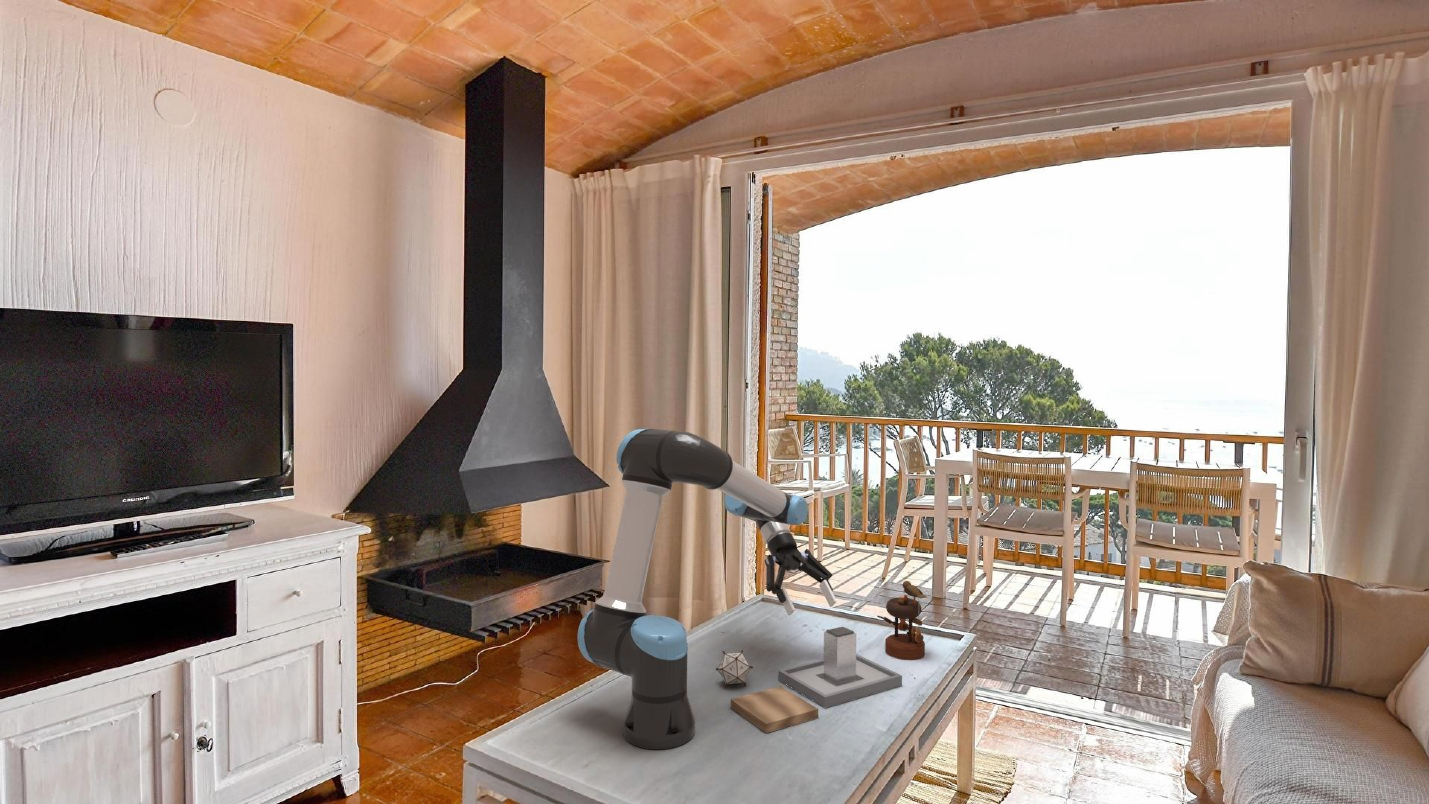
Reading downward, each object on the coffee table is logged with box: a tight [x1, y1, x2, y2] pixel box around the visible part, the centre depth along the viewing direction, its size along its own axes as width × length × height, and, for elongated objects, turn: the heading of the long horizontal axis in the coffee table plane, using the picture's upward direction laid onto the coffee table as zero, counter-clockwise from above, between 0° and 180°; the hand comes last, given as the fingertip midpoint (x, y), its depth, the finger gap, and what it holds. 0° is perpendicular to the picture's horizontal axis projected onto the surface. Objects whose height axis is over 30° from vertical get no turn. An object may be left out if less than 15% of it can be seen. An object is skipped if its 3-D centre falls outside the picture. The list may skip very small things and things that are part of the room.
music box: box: [876, 580, 928, 661], centre depth 205 cm, size 15×11×20 cm
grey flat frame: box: [777, 653, 903, 709], centre depth 185 cm, size 24×18×2 cm
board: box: [730, 685, 819, 734], centre depth 169 cm, size 14×14×2 cm
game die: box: [715, 649, 754, 688], centre depth 184 cm, size 9×8×10 cm
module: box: [823, 626, 857, 687], centre depth 185 cm, size 6×5×13 cm
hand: (813, 608), depth 193 cm, fingers open, 13 cm apart
